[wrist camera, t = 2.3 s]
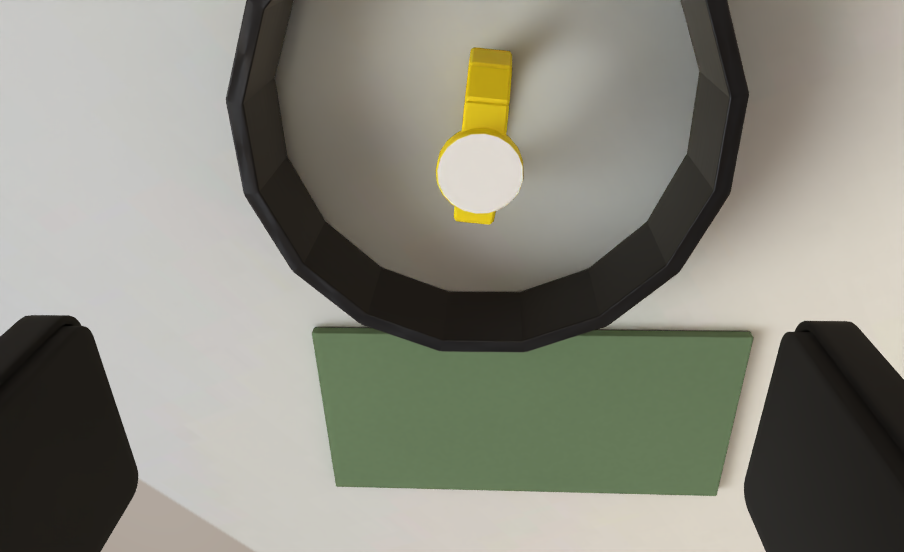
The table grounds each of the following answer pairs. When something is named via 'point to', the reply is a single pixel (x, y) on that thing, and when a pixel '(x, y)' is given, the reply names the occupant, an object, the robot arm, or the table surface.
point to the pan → (487, 313)
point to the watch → (482, 144)
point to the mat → (533, 412)
